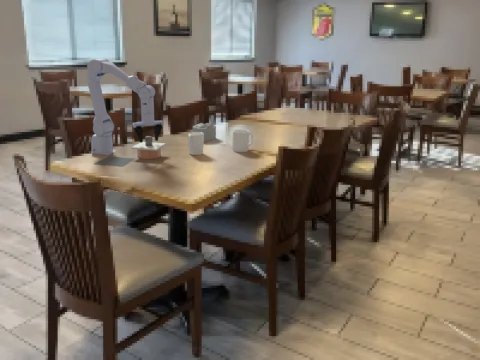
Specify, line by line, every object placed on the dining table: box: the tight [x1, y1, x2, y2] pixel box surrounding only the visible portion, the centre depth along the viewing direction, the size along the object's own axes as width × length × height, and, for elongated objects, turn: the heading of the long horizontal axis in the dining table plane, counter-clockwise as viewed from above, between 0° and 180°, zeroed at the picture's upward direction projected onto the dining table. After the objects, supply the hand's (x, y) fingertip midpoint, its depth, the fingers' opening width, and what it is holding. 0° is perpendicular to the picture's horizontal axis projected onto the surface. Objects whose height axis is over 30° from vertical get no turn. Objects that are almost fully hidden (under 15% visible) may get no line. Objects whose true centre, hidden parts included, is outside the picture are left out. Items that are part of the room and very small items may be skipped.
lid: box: [131, 135, 167, 151], centre depth 212 cm, size 12×12×5 cm
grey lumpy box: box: [192, 122, 217, 143], centre depth 253 cm, size 10×13×9 cm
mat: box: [93, 155, 136, 168], centre depth 204 cm, size 14×14×1 cm
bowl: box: [136, 148, 162, 160], centre depth 213 cm, size 10×10×5 cm
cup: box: [231, 128, 254, 153], centre depth 230 cm, size 8×12×10 cm
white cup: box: [187, 131, 205, 156], centre depth 221 cm, size 8×8×10 cm
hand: (148, 141), depth 212 cm, fingers open, 7 cm apart
